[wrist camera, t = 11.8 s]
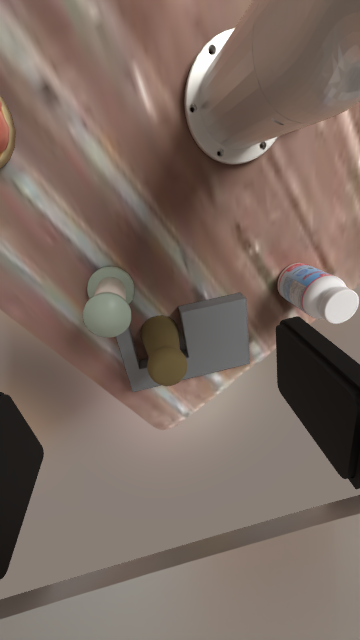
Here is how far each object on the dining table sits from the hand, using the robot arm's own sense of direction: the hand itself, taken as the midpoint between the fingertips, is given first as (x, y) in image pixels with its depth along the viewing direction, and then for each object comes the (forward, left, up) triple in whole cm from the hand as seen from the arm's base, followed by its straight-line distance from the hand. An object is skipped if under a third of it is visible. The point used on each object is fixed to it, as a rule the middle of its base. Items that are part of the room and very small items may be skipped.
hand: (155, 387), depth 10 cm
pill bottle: (-24, +11, -31) cm, 41 cm away
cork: (-1, +15, -31) cm, 34 cm away
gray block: (-5, +17, -31) cm, 35 cm away
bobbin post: (+4, +6, -31) cm, 32 cm away
